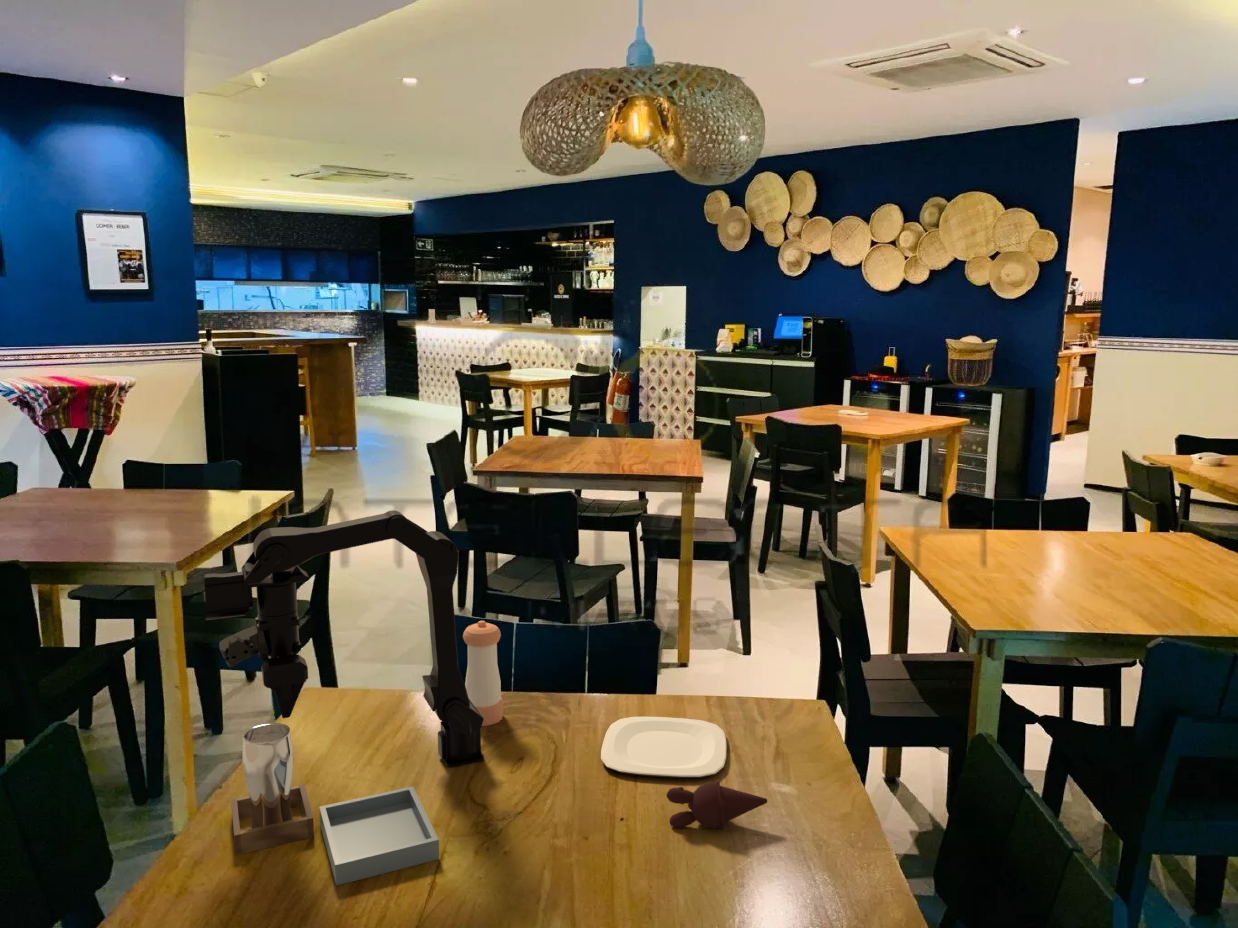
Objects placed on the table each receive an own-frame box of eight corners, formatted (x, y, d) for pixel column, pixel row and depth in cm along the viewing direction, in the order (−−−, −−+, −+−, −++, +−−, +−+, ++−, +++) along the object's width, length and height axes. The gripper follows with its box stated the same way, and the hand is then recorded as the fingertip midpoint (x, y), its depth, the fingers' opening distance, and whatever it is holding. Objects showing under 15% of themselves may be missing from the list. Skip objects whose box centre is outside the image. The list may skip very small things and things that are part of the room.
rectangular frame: (305, 801, 141) (304, 784, 140) (314, 836, 131) (313, 817, 131) (232, 817, 136) (231, 799, 136) (235, 855, 127) (234, 835, 126)
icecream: (761, 770, 138) (664, 778, 138) (768, 783, 131) (666, 791, 131) (765, 816, 138) (668, 824, 138) (773, 831, 130) (671, 840, 130)
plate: (594, 779, 149) (594, 769, 148) (611, 721, 170) (611, 713, 170) (726, 787, 146) (726, 778, 146) (726, 728, 167) (726, 719, 167)
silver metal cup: (280, 843, 130) (274, 746, 127) (237, 837, 131) (230, 741, 129) (306, 817, 136) (301, 724, 134) (265, 812, 138) (259, 720, 135)
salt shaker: (470, 729, 166) (467, 630, 163) (460, 713, 172) (457, 617, 169) (507, 721, 169) (506, 624, 166) (496, 706, 175) (494, 612, 172)
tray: (413, 803, 140) (413, 786, 140) (439, 859, 126) (438, 839, 125) (320, 825, 134) (319, 806, 134) (336, 885, 120) (335, 865, 120)
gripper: (218, 600, 144) (225, 692, 146) (223, 637, 127) (230, 740, 129) (292, 591, 148) (297, 681, 151) (305, 626, 132) (311, 726, 134)
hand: (283, 705), depth 141 cm, fingers open, 9 cm apart
